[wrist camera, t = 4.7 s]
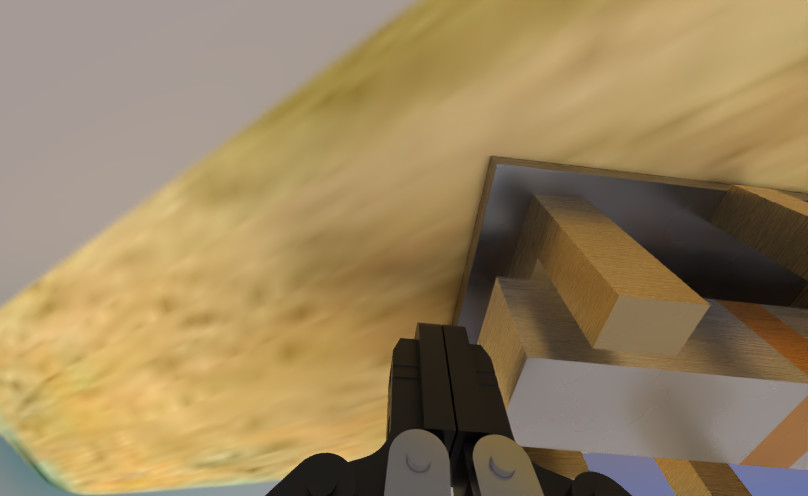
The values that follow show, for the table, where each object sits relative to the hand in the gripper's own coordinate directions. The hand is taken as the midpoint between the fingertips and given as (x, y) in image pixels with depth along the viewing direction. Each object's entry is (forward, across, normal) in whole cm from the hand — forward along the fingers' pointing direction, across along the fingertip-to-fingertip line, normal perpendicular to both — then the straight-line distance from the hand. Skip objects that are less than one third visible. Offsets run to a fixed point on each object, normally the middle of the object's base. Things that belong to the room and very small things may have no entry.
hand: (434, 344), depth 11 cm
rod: (+1, -12, 0) cm, 12 cm away
